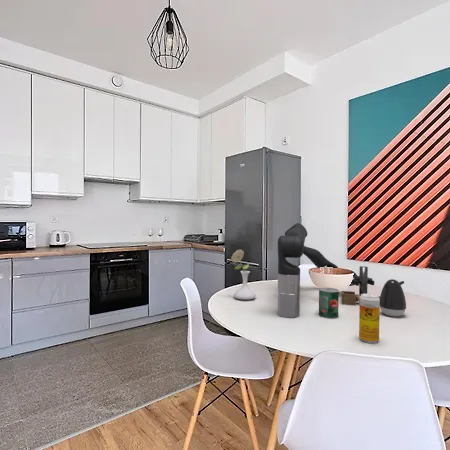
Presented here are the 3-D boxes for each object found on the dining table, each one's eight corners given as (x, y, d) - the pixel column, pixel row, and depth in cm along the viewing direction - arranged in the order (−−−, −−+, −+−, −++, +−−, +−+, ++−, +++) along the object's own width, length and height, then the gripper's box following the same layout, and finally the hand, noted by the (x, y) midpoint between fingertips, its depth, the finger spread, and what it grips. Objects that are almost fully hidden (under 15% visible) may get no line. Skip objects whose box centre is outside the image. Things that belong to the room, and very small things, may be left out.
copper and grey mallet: (382, 305, 145) (382, 268, 145) (345, 302, 150) (345, 266, 150) (381, 303, 149) (381, 267, 149) (345, 300, 154) (345, 265, 154)
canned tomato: (338, 319, 126) (338, 292, 126) (318, 317, 129) (318, 290, 128) (338, 314, 133) (338, 288, 133) (319, 312, 136) (319, 287, 136)
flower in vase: (250, 295, 166) (251, 248, 165) (259, 300, 155) (260, 250, 155) (227, 296, 162) (228, 248, 161) (235, 302, 151) (235, 250, 151)
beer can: (359, 342, 102) (360, 296, 102) (358, 336, 108) (359, 292, 108) (380, 345, 100) (380, 298, 100) (378, 338, 106) (378, 294, 106)
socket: (355, 305, 147) (355, 295, 147) (342, 304, 149) (342, 293, 149) (354, 301, 154) (354, 291, 154) (341, 300, 156) (341, 290, 156)
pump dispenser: (412, 318, 129) (413, 281, 129) (389, 319, 127) (390, 281, 127) (395, 311, 139) (395, 276, 139) (373, 312, 137) (374, 277, 137)
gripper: (333, 270, 162) (352, 275, 146) (358, 269, 165) (379, 275, 149) (333, 284, 162) (352, 291, 146) (358, 283, 165) (379, 290, 149)
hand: (366, 283), depth 147 cm, fingers open, 7 cm apart
